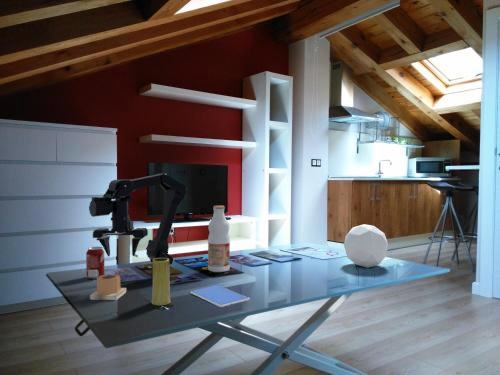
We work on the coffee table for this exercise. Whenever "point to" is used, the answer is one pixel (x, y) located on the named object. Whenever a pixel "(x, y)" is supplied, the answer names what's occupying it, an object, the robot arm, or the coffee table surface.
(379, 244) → the geometric polyhedron
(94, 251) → the soda can
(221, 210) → the fruit juice
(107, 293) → the ring
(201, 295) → the tablet computer
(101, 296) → the shaft block
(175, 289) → the coffee table surface
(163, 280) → the vase
